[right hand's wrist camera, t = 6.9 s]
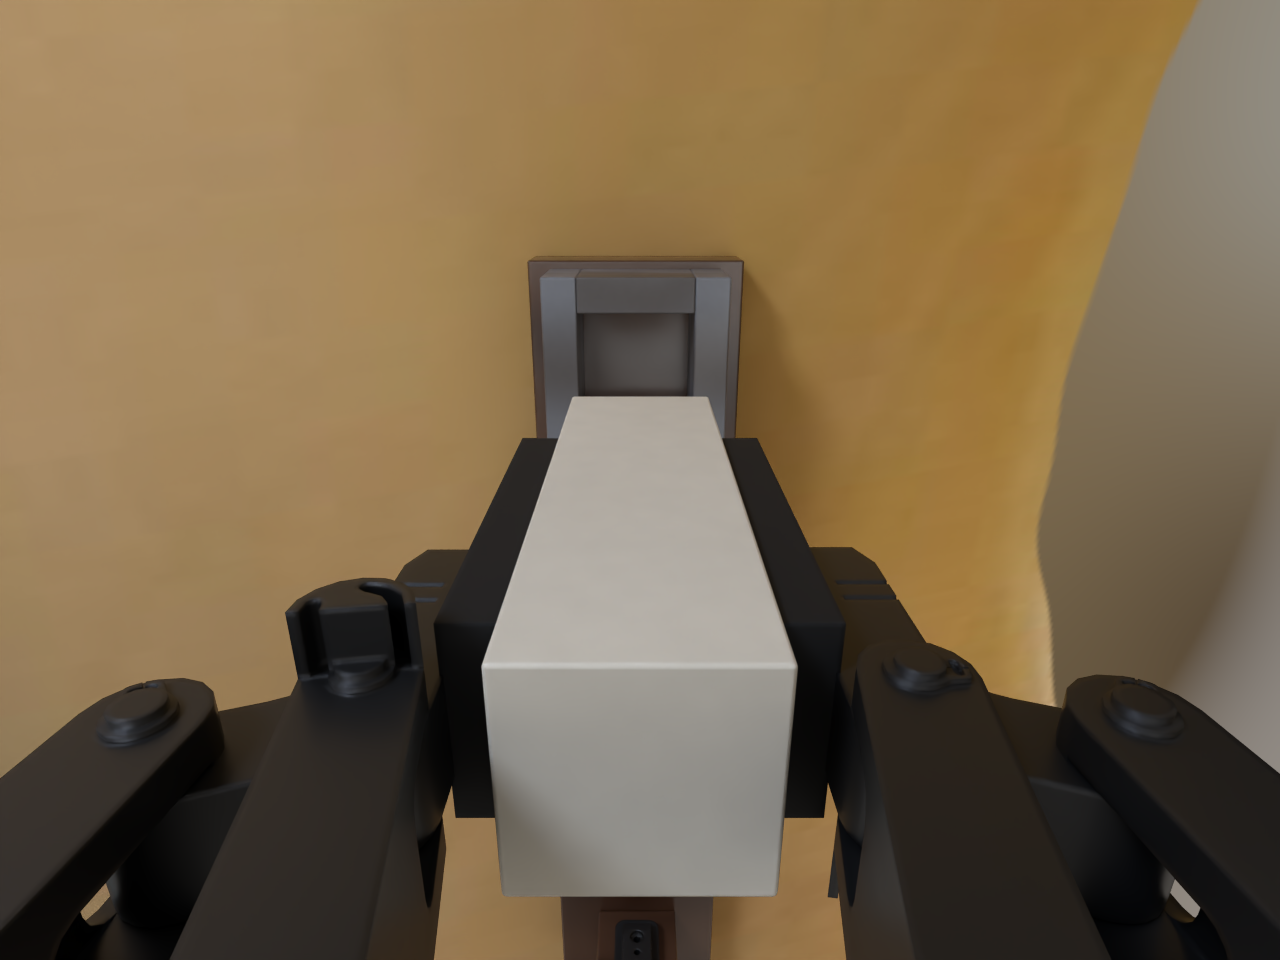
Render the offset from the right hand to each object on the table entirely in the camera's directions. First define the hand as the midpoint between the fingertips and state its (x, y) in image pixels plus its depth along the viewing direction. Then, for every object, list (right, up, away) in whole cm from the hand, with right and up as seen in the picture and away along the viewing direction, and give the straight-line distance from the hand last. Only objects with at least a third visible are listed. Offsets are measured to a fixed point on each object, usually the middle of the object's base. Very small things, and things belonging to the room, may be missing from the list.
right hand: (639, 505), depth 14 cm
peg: (0, +1, +2) cm, 3 cm away
